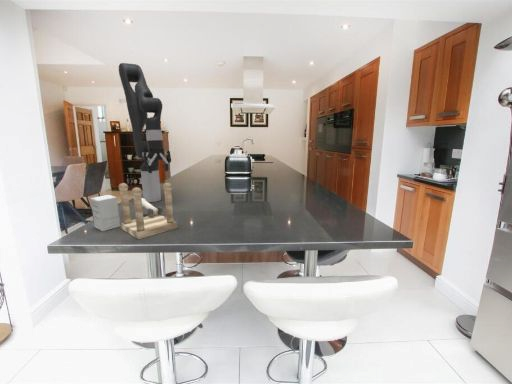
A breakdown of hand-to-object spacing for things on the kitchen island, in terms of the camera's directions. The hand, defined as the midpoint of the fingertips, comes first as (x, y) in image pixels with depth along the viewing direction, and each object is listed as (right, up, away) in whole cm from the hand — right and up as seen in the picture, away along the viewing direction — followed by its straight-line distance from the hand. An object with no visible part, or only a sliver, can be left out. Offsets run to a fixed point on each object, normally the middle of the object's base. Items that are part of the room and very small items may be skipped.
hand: (158, 172), depth 135 cm
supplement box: (-11, -25, -26) cm, 38 cm away
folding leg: (+6, -19, -20) cm, 28 cm away
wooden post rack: (+7, -25, -28) cm, 38 cm away
